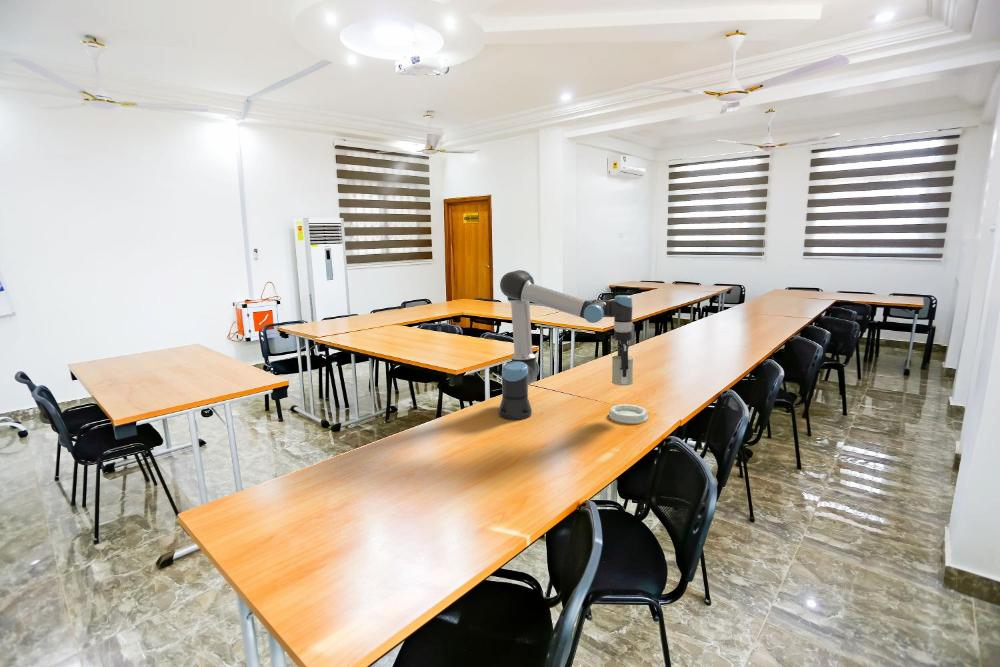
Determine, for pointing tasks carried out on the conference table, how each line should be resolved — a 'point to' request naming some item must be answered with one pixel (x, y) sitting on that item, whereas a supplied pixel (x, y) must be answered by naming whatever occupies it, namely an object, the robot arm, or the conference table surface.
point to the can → (617, 372)
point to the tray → (628, 414)
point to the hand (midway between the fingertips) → (622, 380)
